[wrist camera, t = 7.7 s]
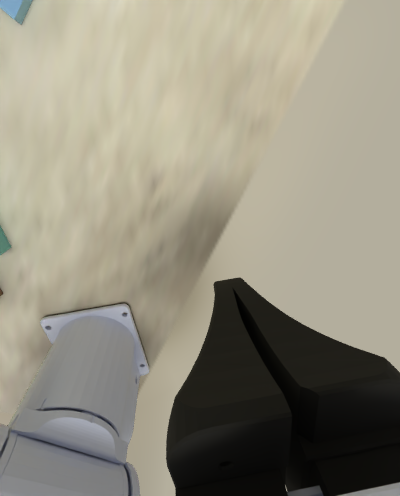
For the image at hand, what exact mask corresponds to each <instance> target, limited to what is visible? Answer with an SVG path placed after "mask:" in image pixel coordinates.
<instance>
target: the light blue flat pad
mask: <svg viewBox="0 0 400 496" xmlns="http://www.w3.org/2000/svg"><path fill="white" fill-rule="evenodd" d="M31 2H32V0H0V8H1V9H2V10H4V11H5V12H6V13H7V14H8V15H9V16H11V17H12V18H13V19H14V20H16V21H17V22H18V23H20V24H22V22H23V20H24V18H25V15H26V13H27V11H28V9H29V7H30V5H31Z"/></svg>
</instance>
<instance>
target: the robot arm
mask: <svg viewBox="0 0 400 496" xmlns="http://www.w3.org/2000/svg"><path fill="white" fill-rule="evenodd" d="M214 291H215V300H214V308H213V313H212V317H211V322H210V326H209V329H208V332H207V336H206V338H205V341H204V344H203V346H202V349H201V351H200V354H199V356H198V358H197V360H196V362H195V364H194V366H193V368H192V370H191V372H190V374H189V376H188V377H187V379H186V381H185V382H184V384H183V386H182V387H181V389H180V390H179V392H178V394H177V395H176V397H175V400H174V403H173V407H172V411H171V415H170V420H169V425H168V432H167V447H166V451H167V452H166V460H167V467H168V469H169V472H170V474H171V477H172V480H173V482H174V485H175V488H176V496H400V372H399V371H398V370H397V369H396V368H395V367H394V366H392V364H391V363H390V362H389V361H387V360H386V359H385V358H384V357H380V356H378V355H375V354H372V353H369V352H366V351H363V350H360V349H357V348H354V347H352V346H349V345H346V344H344V343H342V342H339V341H337V340H334V339H332V338H330V337H327V336H325V335H323V334H321V333H319V332H317V331H315V330H313V329H311V328H309V327H307V326H305V325H303V324H301V323H300V322H298V321H296V320H294V319H293V318H291V317H289V316H288V315H286V314H285V313H283V312H282V311H280V310H279V309H278V308H276V307H275V306H273V305H272V304H271V303H269V302H268V301H267V300H266V299H264V298H263V297H262V296H261V295H259V294H258V293H257V292H256V291H255V290H254V289H253V288H251V287H250V286H249V285H248V284H247V283H246V282H244V280H243V279H241V278H234V279H228V280H222V281H217V282H215V283H214ZM124 312H126V313H127V314H124ZM40 324H41V326H42V328H43V329H44V331H45V333H46V335H47V337H48V338H49V340H50V342H51V344H52V346H51V348H50V350H49V352H48V354H47V355H46V357H45V359H44V361H43V363H42V365H41V366H40V368H39V370H38V372H37V374H36V375H35V377H34V379H33V381H32V383H31V384H30V386H29V388H28V390H27V392H26V394H25V395H24V397H23V399H22V401H21V403H20V404H19V406H18V408H17V410H16V412H15V414H14V415H13V417H12V419H11V421H10V423H9V424H8V425H7V426H6V425H4V424H1V423H0V496H140V487H139V480H138V475H137V472H136V470H135V468H134V467H133V465H132V464H130V463H128V462H126V455H127V447H128V444H129V442H130V440H131V437H132V433H133V427H134V419H135V411H136V403H137V395H138V387H139V379H140V376H141V375H146V374H148V373H149V366H148V363H147V360H146V357H145V354H144V351H143V348H142V345H141V341H140V338H139V335H138V332H137V329H136V326H135V323H134V320H133V317H132V314H131V311H130V308H129V306H128V305H127V304H118V305H112V306H106V307H100V308H95V309H89V310H83V311H77V312H71V313H66V314H60V315H54V316H48V317H44V318H43V319H42V320H41V322H40ZM49 326H50V327H49ZM285 484H286V488H287V491H286V488H285Z"/></svg>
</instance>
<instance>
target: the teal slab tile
mask: <svg viewBox="0 0 400 496" xmlns="http://www.w3.org/2000/svg"><path fill="white" fill-rule="evenodd" d="M10 248H11V245H10V243H9V241H8V239H7V238H6V236H5V234H4V232H3V230H2V228H1V226H0V255H1V254H3V253H4V252H6V251H7V250H8V249H10Z"/></svg>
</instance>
